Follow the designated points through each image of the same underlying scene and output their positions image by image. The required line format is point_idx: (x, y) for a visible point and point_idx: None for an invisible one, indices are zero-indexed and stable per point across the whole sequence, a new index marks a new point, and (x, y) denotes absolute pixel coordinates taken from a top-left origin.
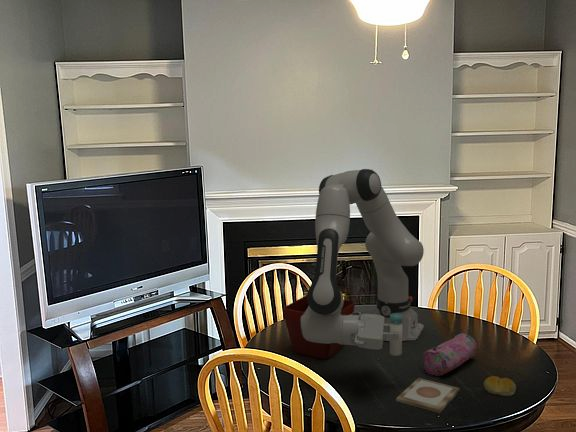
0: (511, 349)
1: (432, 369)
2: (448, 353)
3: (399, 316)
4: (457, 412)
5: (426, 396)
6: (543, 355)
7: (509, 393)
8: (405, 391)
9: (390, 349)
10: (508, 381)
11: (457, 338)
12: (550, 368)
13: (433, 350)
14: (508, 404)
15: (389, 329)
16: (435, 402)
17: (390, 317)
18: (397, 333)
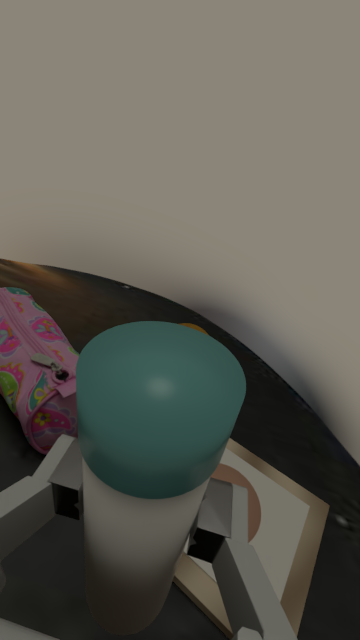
0: (22, 282)
1: (77, 433)
2: (78, 357)
3: (213, 353)
4: (301, 460)
5: (255, 519)
6: (69, 269)
7: None
8: (212, 602)
9: (140, 620)
10: (198, 327)
11: (10, 307)
12: (115, 280)
13: (62, 382)
14: (241, 362)
15: (8, 539)
16: (288, 502)
17: (181, 455)
18: (241, 494)
